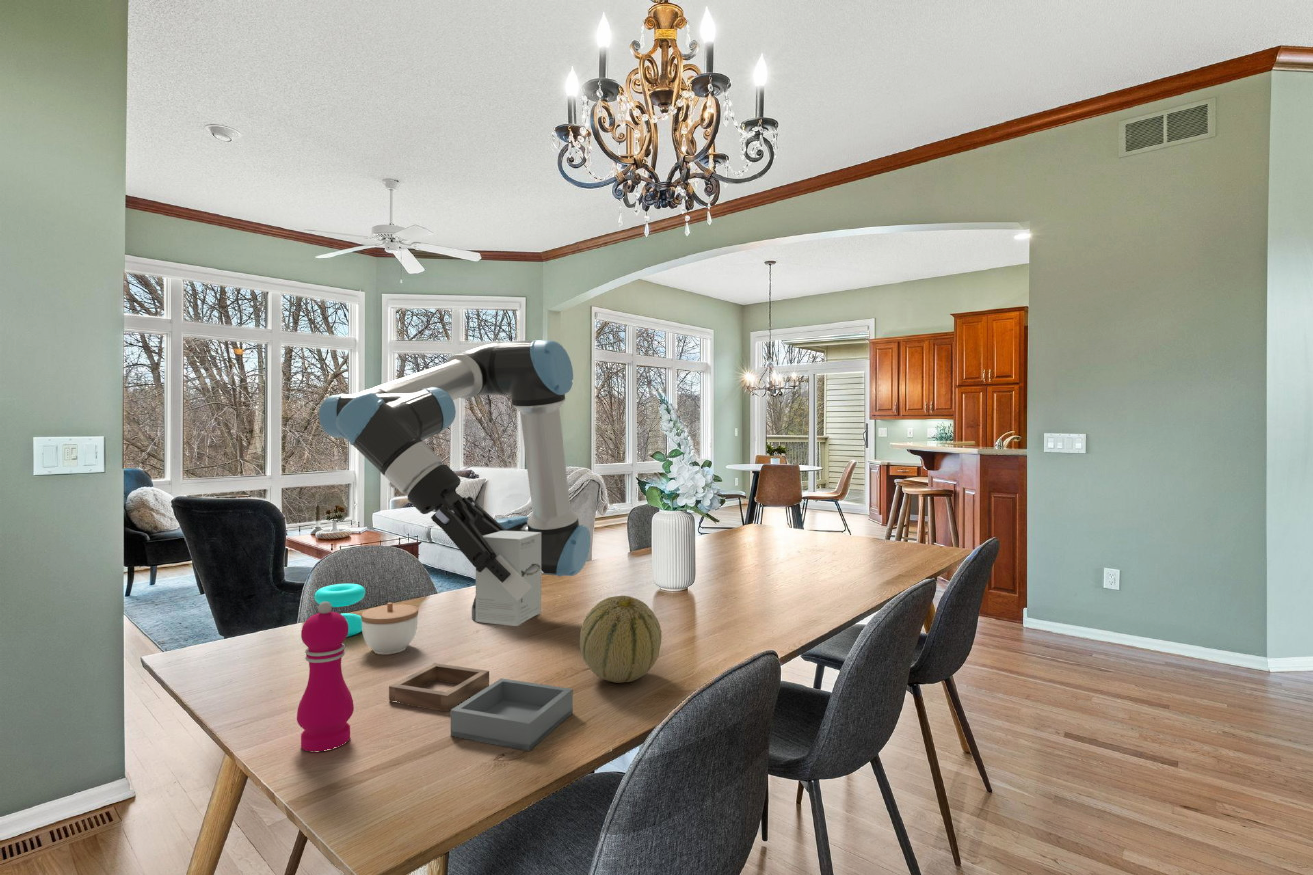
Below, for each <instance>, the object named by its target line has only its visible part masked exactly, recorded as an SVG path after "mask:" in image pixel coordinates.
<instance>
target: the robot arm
mask: <svg viewBox="0 0 1313 875" xmlns="http://www.w3.org/2000/svg"><path fill="white" fill-rule="evenodd" d="M573 370H574V369H573V365H572V361H571V358H570V356H569V354H568V352H567V351H566V349H565V348H564V347H563V346H562V344H561V343H559V342H558V341H555V340H548V339H547V340H546V339H531V340H517V341H506V342H505V341H504V342H503V341H496V342H490V343H486V344H482V345H480V346H477V347H474V348H471V349H469V350H466V351H462V352H461V353H457V354H453V355H452V356H450V357H449V358H447V360H446V361H445V362H444V363H442V364H440V365H437V366H434V367H433V366H432V367H431V368H428V369H427V368H426V369H424V370H421V371H419V372H416V373H413V374H410V375H409V374H408V375H407V376H404V377H400V378H397V379H393V380H391V381H389V382H386V383H383V384H379V385H377V386H374V387H371V388H368V389H364V390H361V391H358V392H355V393H346V392H345V393H344V392H343V393H340V394H332V395H330V396H327V397H326V398H325V399H324V400H323V401H322V402H321V404H320V407H319V410H318V419H319V425H320V427H321V429H322V430H323V432H324V433H325V434H326V435H328V436H330V437H332V438H337V439H345V440H347V441H348V442H349V445H351V446H352V447H354V448H355V449H356V450H357V451H358V452H359V453H360V454H361V455H362V456H363V457H364V458H366V459H367V461H369V462H370V463H371V465H373V467H374V468H376V469H377V470H378V471H379V472H380V474H382V475H383V477H385V478H386V479H387V480H388V481H389V484H388V485H389V487H390V488H393V489H394V488H395V489H397V490H398V491H399V493H401V494H402V495H407V501H408V502H409V503H410V504H411V505H412V506H414V508H415V509H416V510H418V512H419V513H420V514H422V515H427V514H429V513H432V512H433V511H435V513H433V514H432V515H431V517H430V519H431V521H432V522H434V524H436V525H437V526H438V527H439V528H440V529H441V530H442V532H444V533H445V534H446V536H448V538H449V540H450V541H451V542H452V543H453V544H454V545H455V546H456V547H457V548H458V549H459V550H460V552H461V553H462V555H463V556H465V558H466V559H467V560H468V561H469V562H470V564H472V566H473V567H475V571H476V570H477V571H478V572H482V571H483V570H484V569H485V568H486V570H487V571H488V572H489V573H490V574H491V575H492V576H493V577H494V578H495V579H496V580H497V581H498V582H499V583H500V584H501V585H502V586H503V587H504V588H505V589H506V590H507V591H508V592H509V593H510V594H511V595H512V596H513V597H514V598H515V599H516V600H517V601H518V600H519V599H520V598H521V597H522V596H523V595H524V594H525V593H526V592H527V591H528V590H529V589H530V588H531V587H532V586H531V585H530V584H529V583H528V582H527V581H526V580H525V579H524V578H523V577H522V576H521V575H520V574H519V573H518V572H517V571H516V570H515V569H514V568H513V567H512V566H511V565H510V564H509V563H508V562H507V561H506V560H505V559H504V558H503V557H502V556H501V555H499V556H498V557H497V555H496V554H495V552H494V551H493V550H492V548H491V547H490V546H489V544H488V543H487V541H486V540H485V539H484V537H483V535H487V534H491V533H495V532H499V531H524V532H541V576H542V575H544V576H545V575H546V576H557V577H573V576H577V575H578V574H579V573H580V572H581V571H582V570H583V568H584V566H585V565H586V562H587V559H588V557H589V552H590V547H591V534H590V533H591V532H590V530H589V528H588V527H587V525H586V526H585V525H583V524H580V522H579V521H580V520H579V515H578V513H577V512H575V511H574V510H573V509H571V502H570V500H571V499H570V493H569V483H568V475H567V465H566V464H567V463H566V456H565V447H564V446H565V445H564V438H563V429H562V418H561V411H560V407H561V406H562V405H563V404H564V402H565V401H566V394H567V393H569V392H570V391H571V389H572V386H573V380H574V371H573ZM491 395H493V396H494V395H495V396H498V395H499V396H510V398H511V405H512V407H513V408H514V409H516V410H517V411H518V412H519V413H520V421H521V422H520V423H521V430H522V436H523V446H524V454H525V461H526V463H525V464H526V469H527V470H526V471H527V476H528V477H527V478H528V486H529V492H530V503H531V510H532V514H531V516H530V517H529V516H527V515H526V516H525V515H522V516H521V515H520V516H511V517H503V518H496V519H495V518H493V516H491V515H490V514H489V513H488V512H487V511H486V510H484V508H482V506H480V505H479V504H478V502H476V501H475V499H474V498H473V497H472V496H467V497H466V496H461V495H460V494H459V493H457V489H458V488H459V486H460V484H461V482H462V481H461V478H460V477H459V475H457V473H455V471H453V470H452V468H451V467H450V466H448V465H447V464H442V461H443V460H442V458H441V457H440V456H439V455H438V454H437V453H436V452H435V451H434V450H433V449H432V448H430V446H429V445H428V444H426V443H425V442H424V441H425V440H426V439H428V438H431V437H432V436H436V435H439V434H441V433H442V431H443V430H445V429H447V428H449V427H450V426H451V425H453V423H454V421H455V418H456V412H457V411H456V406H455V402H454V400H457V399H465V400H468V399H472V398H474V397H476V396H491ZM496 557H497V558H496ZM495 558H496V559H495ZM471 619H472V620H473V621H475V619H476V595H475V597H474V599H473V602H472V606H471Z"/></svg>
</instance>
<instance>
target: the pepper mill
mask: <svg viewBox="0 0 1313 875" xmlns="http://www.w3.org/2000/svg"><path fill="white" fill-rule="evenodd" d="M332 608H333V607H332V605H331V603H329V602H322V603H321V604H318V606H317V609H318V612H317V613H316V614H313V615H312V616H310V617H309V618H308V619H306V620H305V622H304V623H303V625H302V628H301V630H300V631H301V632H300V633H301V635H300V638H301V640H302V643H303V644H304V645H306V647H307V648H306V649H305V651H304V653H305V658H304V659H305V661H306V662H308V664H309V665H308V666H309V667H308V668H309V670H308V671H309V672H308V674H309V675H308V681H307V685H306V687H305V689H304V692H303V695H302V696H301V699H300V701H299V704H298V707H297V713H296V722H297V724H298V726H299V727H300V728H301V729H303V731H302V732H301V734H300V748H301V747H302V748H301V749H302V750H303V749H304V750H306V751H305V752H307V751H324V750H327V749H333V748H334V747H338V746H340V745H342V744H344V743H345V742H347V741H348V740H349V741H350V739H351V725H350V724H349V723H348V721H349V720H350V718H351V717H353V716H352V715H353V713H354V709H355V705H354V700H353V697H352V693H351V691H350V690H349V687H348V686H347V683H346V681H345V679H344V676H343V670H342V660H343V657H344V656H345V655H346V652H345V648H346V645H345V644H344V641H345V640H346V639H347V638H348V637H347V635H348V630H349V629H348V623H347V620H346V619H345V617H344V616H343V615H341V614H342V613H339V612H336V611H332V610H333V609H332ZM349 741H348V742H349ZM348 742H347V743H348ZM344 745H345V744H344ZM304 750H303V751H304ZM333 750H334V749H333Z"/></svg>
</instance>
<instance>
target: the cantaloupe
mask: <svg viewBox="0 0 1313 875" xmlns="http://www.w3.org/2000/svg"><path fill="white" fill-rule="evenodd" d="M662 638H663V637H662V627H661V624H660V622H659V619H658V618H657V617H656V615H655V612H654V611H653V610H652V609H651V608H650V607H649V606H648V605H647V604H646V603H645V602H644V601H642V600H640V599H639V598H635V597H633V596H629V595H617V596H615V595H614V596H609V597H607V598H604V599H603V600H601V601H599V602H598V603H596V604H595V606H593V607H591V609H590V611H589V612H588V613H587V614H586V616H585V618H584V620H583V623H582V626H581V630H580V634H579V648H580V649H579V650H580V653H581V656H582V659H583V661H584V662H585V664H586V665H587V667H588V668H589V669H590V671H591V672H592V673H593V674H595V675H596V677H598V678H600V679H602V680H604V681H607V682H613V683H618V684H622V683H630V682H633V681H636V680H638V679H640V678H641V677H643V676H645V675H646V674H647V673H649V671H650V670H651V669H652V668H653V667H654V665H655V664H656V662H657V660H658V658H659V653H660V648H661V644H662Z"/></svg>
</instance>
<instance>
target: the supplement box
mask: <svg viewBox="0 0 1313 875" xmlns="http://www.w3.org/2000/svg"><path fill="white" fill-rule="evenodd" d="M483 537H484V539H485V540H486V541H487V543H488V544H489V546H490V547H491V548H492V550H493V551H494V552H495V554H496V555H497V557H498V556H499V555H501V556H502V557H503V558H504V559H505V560H506V561H507V562H508V563H509V564H510V565H511V566H512V567H513V568H514V569H515V570H516V571H517V572H518V573H519V574H520V575H521V576H522V577H523V578H524V579H525V580H526V581H527V582H528V583H529V584H530V585H531V586H532V587H531V588H530V589H529V590H528V591H527V592H526V593H525V594H524V595H523V596H522V597H521V598H520V599H519V600H518V601H517V600H516V599H515V598H514V597H513V596H512V595H511V594H510V593H509V592H508V591H507V590H506V589H505V588H504V587H503V586H502V585H501V584H500V583H499V582H498V581H497V580H496V579H495V578H494V577H493V576H492V575H491V574H490V573H489V572H488V571H487V570H486V568H485V569H484V570H483V571H482V572H478V571H477V570H476V569H475V596H476V619H475V620H474V621H475V622H476V623H483V624H491V625H492V624H494V625H503V626H513V627H519V626H520V625H522V624H523V623H524V622H526V621H528V620H530V619H532V618H534V617H535V616H538V615H540V614H541V613H542V575H541V532H524V531H499V532H495V533H491V534H487V535H483ZM497 557H496V558H497ZM496 558H495V559H496Z"/></svg>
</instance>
